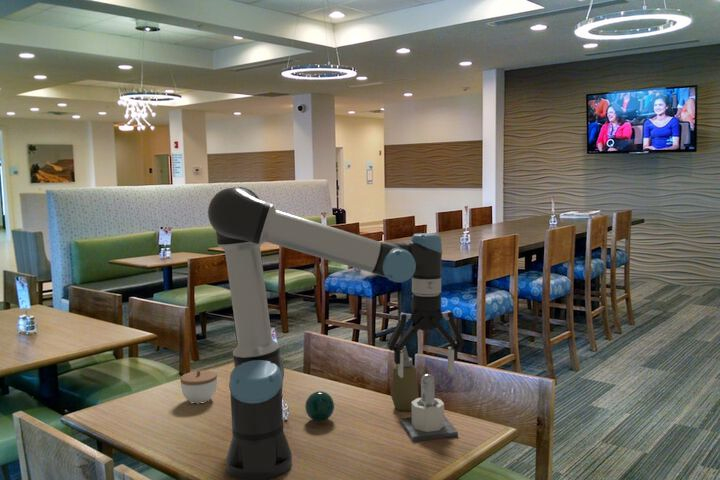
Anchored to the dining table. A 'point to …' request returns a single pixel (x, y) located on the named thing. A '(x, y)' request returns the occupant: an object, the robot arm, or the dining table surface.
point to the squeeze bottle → (404, 384)
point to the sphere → (319, 406)
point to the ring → (427, 416)
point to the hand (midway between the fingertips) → (425, 374)
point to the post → (428, 401)
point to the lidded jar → (199, 385)
